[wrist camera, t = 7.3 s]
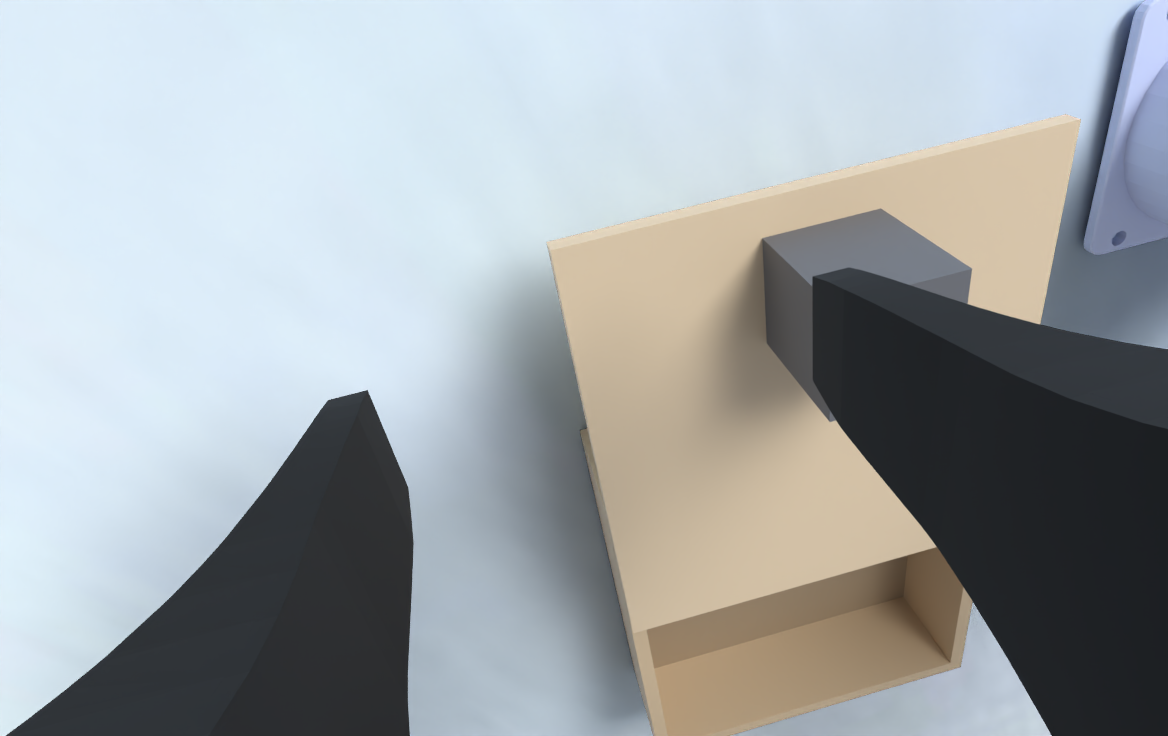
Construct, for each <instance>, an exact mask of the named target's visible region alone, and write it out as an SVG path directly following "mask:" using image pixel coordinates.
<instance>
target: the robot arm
mask: <svg viewBox="0 0 1168 736" xmlns="http://www.w3.org/2000/svg"><path fill="white" fill-rule="evenodd" d="M1167 13H1168V0H1145V1H1144V2H1142V3H1141V4H1140V6H1139V7H1138V9H1137V10H1136V12H1135V14H1134V17H1133V21H1132V25H1131V30H1130V34H1129V39H1128V43H1127V48H1126V52H1125V57H1124V61H1123V66H1122V71H1121V75H1120V80H1119V84H1118V89H1117V93H1116V98H1115V102H1114V107H1113V111H1112V116H1111V120H1110V125H1109V129H1108V134H1107V138H1106V143H1105V147H1104V152H1103V156H1102V161H1101V166H1100V170H1099V175H1098V179H1097V184H1096V188H1095V193H1094V197H1093V202H1092V206H1091V211H1090V215H1089V220H1088V224H1087V229H1086V233H1085V238H1084V248H1085V250H1087V251H1089V252H1091V253H1093V254H1095V255H1102V254H1106V253H1110V252H1114V251H1117V250H1121V249H1125V248H1129V247H1133V246H1137V245H1140V244H1144V243H1148V242H1152V241H1156V240H1160V239H1163V238H1167V237H1168V16H1167ZM1115 234H1116V235H1115ZM1114 235H1115V237H1114V238H1113V236H1114ZM812 323H813V382H814V384H815V385H816V387H817V389H818V391H819V392H820V394H821V396H822V398H823V399H824V401H825V403H826V405H827V406H828V408H829V410H830V411H831V413H832V414H833V416H834V418H835V419H836V421H837V423H838V424H839V426H840V427H841V429H842V430H843V431H844V432H845V434H846V435H847V436H848V438H849V439H850V440H851V441H852V443H853V444H854V445H855V446H856V448H857V449H858V450H859V451H860V452H861V454H862V455H863V456H864V457H865V459H866V460H867V461H868V462H869V464H870V465H871V466H872V467H873V468H874V470H875V471H876V472H877V473H878V474H879V476H880V477H881V478H882V479H883V480H884V482H885V483H886V484H887V485H888V487H889V488H890V489H891V490H892V491H893V493H894V494H895V495H896V496H897V497H898V499H899V500H900V501H901V502H902V504H903V505H904V506H905V507H906V508H907V510H908V511H909V512H910V513H911V514H912V516H913V517H914V518H915V519H916V520H917V522H918V523H919V524H920V525H921V527H922V528H923V529H924V531H925V532H926V533H927V535H928V536H929V537H930V538H931V540H932V541H933V542H934V544H935V545H936V546H937V548H938V549H939V551H940V552H941V554H942V555H943V557H944V558H945V560H946V561H947V563H948V564H949V566H950V567H951V569H952V570H953V572H954V573H955V575H956V577H957V578H958V580H959V581H960V583H961V584H962V586H963V587H964V589H965V590H966V592H967V593H968V595H969V596H970V598H971V599H972V601H973V603H974V604H975V606H976V607H977V609H978V611H979V612H980V614H981V616H982V617H983V619H984V620H985V622H986V624H987V625H988V627H989V629H990V630H991V632H992V633H993V635H994V637H995V638H996V640H997V642H998V643H999V645H1000V646H1001V648H1002V650H1003V651H1004V653H1005V655H1006V656H1007V658H1008V660H1009V661H1010V663H1011V665H1012V667H1013V668H1014V670H1015V672H1016V674H1017V675H1018V677H1019V679H1020V681H1021V682H1022V684H1023V686H1024V688H1025V689H1026V691H1027V693H1028V694H1029V696H1030V698H1031V700H1032V701H1033V703H1034V705H1035V707H1036V708H1037V710H1038V712H1039V714H1040V715H1041V717H1042V719H1043V721H1044V722H1045V724H1046V726H1047V728H1048V730H1049V731H1050V733H1051V735H1052V736H1168V349H1161V348H1154V347H1148V346H1142V345H1136V344H1130V343H1124V342H1118V341H1113V340H1108V339H1103V338H1099V337H1094V336H1089V335H1084V334H1079V333H1074V332H1069V331H1065V330H1060V329H1056V328H1052V327H1048V326H1044V325H1040V324H1036V323H1032V322H1029V321H1025V320H1021V319H1018V318H1014V317H1010V316H1006V315H1003V314H999V313H996V312H992V311H989V310H986V309H982V308H979V307H976V306H973V305H969V304H966V303H963V302H960V301H957V300H954V299H950V298H947V297H944V296H941V295H938V294H935V293H932V292H929V291H926V290H923V289H920V288H917V287H914V286H911V285H908V284H905V283H902V282H899V281H896V280H893V279H890V278H886V277H883V276H880V275H877V274H873V273H870V272H867V271H863V270H859V269H854V268H850V267H848V268H844V269H840V270H836V271H832V272H828V273H824V274H820V275H816V276H812ZM412 568H413V533H412V521H411V510H410V501H409V491H408V486H407V484H406V481H405V479H404V477H403V474H402V472H401V469H400V467H399V465H398V462H397V460H396V457H395V455H394V453H393V450H392V448H391V445H390V443H389V441H388V438H387V436H386V433H385V431H384V429H383V426H382V424H381V422H380V419H379V417H378V414H377V412H376V410H375V407H374V405H373V402H372V400H371V398H370V395H369V393H368V390H366V391H363V392H359V393H355V394H351V395H347V396H343V397H339V398H335V399H331V400H328V401H327V403H326V404H325V405H324V406H323V408H322V409H321V410H320V412H319V413H318V415H317V416H316V418H315V419H314V420H313V422H312V423H311V425H310V426H309V428H308V429H307V431H306V432H305V434H304V435H303V436H302V438H301V439H300V441H299V442H298V444H297V445H296V447H295V448H294V450H293V451H292V452H291V454H290V455H289V457H288V458H287V459H286V461H285V462H284V464H283V465H282V466H281V468H280V469H279V471H278V472H277V473H276V475H275V476H274V478H273V479H272V480H271V482H270V483H269V484H268V486H267V487H266V488H265V490H264V491H263V492H262V493H261V495H260V496H259V497H258V499H257V500H256V501H255V502H254V504H253V505H252V506H251V507H250V509H249V510H248V511H247V512H246V514H245V515H244V516H243V517H242V519H241V520H240V521H239V522H238V524H237V525H236V526H235V527H234V529H233V530H232V531H231V532H230V534H229V535H228V536H227V537H226V538H225V540H224V541H223V542H222V543H221V544H220V545H219V547H218V548H217V549H216V550H215V551H214V552H213V553H212V554H211V556H210V557H209V558H208V559H207V560H206V561H205V562H204V563H203V564H202V565H201V566H200V568H199V569H198V570H197V571H196V572H195V573H194V574H193V575H192V576H191V577H190V578H189V579H188V580H187V581H186V582H185V583H184V584H183V585H182V586H181V587H180V588H179V589H178V590H177V591H176V592H175V593H174V594H173V595H172V596H171V597H170V598H169V599H168V600H167V601H166V602H165V603H164V604H163V605H162V606H161V607H160V608H159V609H158V610H157V611H156V612H154V613H153V614H152V615H151V616H150V617H149V618H148V619H147V620H146V621H145V622H144V623H142V624H141V625H140V626H139V627H138V628H137V629H136V630H135V631H134V632H133V633H131V634H130V635H129V636H128V637H127V638H126V639H125V640H124V641H123V642H122V643H121V644H119V645H118V646H117V647H116V648H115V649H114V650H113V651H112V652H111V653H110V654H108V655H107V656H106V657H105V658H104V659H103V660H101V661H100V662H99V663H98V664H97V665H95V666H94V667H93V668H92V669H91V670H89V671H88V672H87V673H86V674H85V675H83V676H82V677H81V678H80V679H78V680H77V681H76V682H75V683H74V684H72V685H71V686H70V687H69V688H67V689H66V690H65V691H64V692H62V693H61V694H60V695H59V696H57V697H56V698H55V699H53V700H52V701H51V702H50V703H48V704H47V705H46V706H44V707H43V708H42V709H41V710H39V711H38V712H37V713H35V714H34V715H33V716H32V717H30V718H29V719H28V720H26V721H25V722H24V723H22V724H21V725H20V726H18V727H17V728H16V729H14V730H13V731H12V732H10V733H9V734H8V735H6V736H410V732H409V716H408V654H409V633H410V612H411V592H412Z"/></svg>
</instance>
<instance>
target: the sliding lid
mask: <svg viewBox="0 0 1168 736" xmlns="http://www.w3.org/2000/svg"><path fill="white" fill-rule="evenodd" d="M1080 122H1081V119H1078V118H1075V117H1072V116H1069V115H1066V114H1065V115H1061V116H1057V117H1053V118H1049V119H1045V120H1041V121H1037V122H1032V123H1028V124H1024V125H1020V126H1016V127H1012V128H1008V129H1004V130H1000V131H996V132H992V133H988V134H984V135H980V136H976V137H971V138H967V139H963V140H959V141H955V142H951V143H947V144H943V145H939V146H935V147H931V148H927V149H923V150H919V151H915V152H910V153H906V154H902V155H898V156H894V157H890V158H886V159H882V160H878V161H874V162H870V163H866V164H862V165H858V166H854V167H849V168H845V169H841V170H837V171H833V172H829V173H825V174H821V175H817V176H813V177H809V178H805V179H801V180H797V181H793V182H788V183H784V184H780V185H776V186H772V187H768V188H764V189H760V190H756V191H752V192H748V193H744V194H740V195H736V196H732V197H727V198H723V199H719V200H715V201H711V202H707V203H703V204H699V205H695V206H691V207H687V208H683V209H679V210H675V211H671V212H666V213H662V214H658V215H654V216H650V217H646V218H642V219H638V220H634V221H630V222H626V223H622V224H618V225H614V226H610V227H605V228H601V229H597V230H593V231H589V232H585V233H581V234H577V235H573V236H569V237H565V238H561V239H557V240H553V241H549V242H547V247H548V251H549V256H550V260H551V265H552V270H553V274H554V279H555V283H556V288H557V292H558V297H559V301H560V306H561V310H562V315H563V320H564V324H565V329H566V333H567V338H568V342H569V347H570V351H571V356H572V361H573V365H574V370H575V374H576V379H577V383H578V388H579V392H580V397H581V401H582V406H583V411H584V415H585V420H586V424H587V429H588V433H589V438H590V442H591V447H592V452H593V456H594V461H595V465H596V470H597V474H598V479H599V483H600V488H601V492H602V497H603V502H604V506H605V511H606V515H607V520H608V524H609V529H610V533H611V538H612V543H613V547H614V552H615V556H616V561H617V565H618V570H619V574H620V579H621V583H622V588H623V593H624V597H625V602H626V606H627V611H628V615H629V620H630V624H631V627H632V630H633V633H637V632H640V631H644V630H647V629H651V628H654V627H658V626H661V625H665V624H668V623H672V622H675V621H679V620H682V619H686V618H689V617H693V616H696V615H700V614H703V613H707V612H710V611H714V610H717V609H721V608H724V607H728V606H731V605H735V604H738V603H742V602H745V601H749V600H752V599H756V598H760V597H763V596H767V595H770V594H774V593H777V592H781V591H784V590H788V589H791V588H795V587H798V586H802V585H805V584H809V583H812V582H816V581H819V580H823V579H826V578H830V577H833V576H837V575H840V574H844V573H847V572H851V571H854V570H858V569H861V568H865V567H868V566H872V565H875V564H879V563H882V562H886V561H889V560H893V559H896V558H900V557H903V556H907V555H910V554H914V553H917V552H921V551H924V550H928V549H931V548H935V547H937V546H936V545H935V544H934V542H933V541H932V540H931V538H930V537H929V536H928V535H927V533H926V532H925V531H924V529H923V528H922V527H921V525H920V524H919V523H918V522H917V520H916V519H915V518H914V517H913V516H912V514H911V513H910V512H909V511H908V510H907V508H906V507H905V506H904V505H903V504H902V502H901V501H900V500H899V499H898V497H897V496H896V495H895V494H894V493H893V491H892V490H891V489H890V488H889V487H888V485H887V484H886V483H885V482H884V480H883V479H882V478H881V477H880V476H879V474H878V473H877V472H876V471H875V470H874V468H873V467H872V466H871V465H870V464H869V462H868V461H867V460H866V459H865V457H864V456H863V455H862V454H861V452H860V451H859V450H858V449H857V448H856V446H855V445H854V444H853V443H852V441H851V440H850V439H849V438H848V436H847V435H846V434H845V432H844V431H843V430H842V429H841V427H840V426H839V424H838V423H837V421H836V419H835V418H834V416H833V414H832V413H831V411H830V410H829V408H828V406H827V405H826V403H825V401H824V399H823V398H822V396H821V394H820V392H819V391H818V389H817V387H816V385H815V384H814V382H813V323H812V276H816V275H820V274H824V273H828V272H832V271H836V270H840V269H844V268H848V267H850V268H854V269H859V270H863V271H867V272H870V273H873V274H877V275H880V276H883V277H886V278H890V279H893V280H896V281H899V282H902V283H905V284H908V285H911V286H914V287H917V288H920V289H923V290H926V291H929V292H932V293H935V294H938V295H941V296H944V297H947V298H950V299H954V300H957V301H960V302H963V303H966V304H969V305H973V306H976V307H979V308H982V309H986V310H989V311H992V312H996V313H999V314H1003V315H1006V316H1010V317H1014V318H1018V319H1021V320H1025V321H1029V322H1032V323H1036V324H1040V323H1041V318H1042V313H1043V308H1044V303H1045V298H1046V293H1047V288H1048V283H1049V278H1050V273H1051V267H1052V262H1053V257H1054V252H1055V247H1056V242H1057V237H1058V232H1059V227H1060V222H1061V217H1062V212H1063V207H1064V202H1065V197H1066V192H1067V187H1068V182H1069V177H1070V172H1071V167H1072V162H1073V157H1074V152H1075V147H1076V142H1077V137H1078V132H1079V127H1080Z"/></svg>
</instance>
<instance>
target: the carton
mask: <svg viewBox="0 0 1168 736" xmlns="http://www.w3.org/2000/svg"><path fill="white" fill-rule="evenodd" d="M580 434H581V438H582V443H583V447H584V451H585V456H586V460H587V464H588V469H589V473H590V478H591V482H592V486H593V491H594V495H595V500H596V504H597V508H598V513H599V517H600V522H601V526H602V530H603V535H604V539H605V544H606V548H607V552H608V557H609V561H610V566H611V570H612V574H613V579H614V583H615V587H616V592H617V596H618V601H619V605H620V609H621V614H622V618H623V623H624V627H625V631H626V636H627V640H628V645H629V649H630V653H631V658H632V662H633V667H634V671H635V674H636V678H637V681H638V685H639V688H640V692H641V695H642V698H643V702H644V705H645V709H646V712H647V716H648V719H649V723H650V726H651V729H652V733H653V736H730V735H734V734H737V733H740V732H744V731H747V730H750V729H754V728H757V727H760V726H764V725H767V724H771V723H774V722H777V721H781V720H784V719H787V718H791V717H794V716H797V715H801V714H804V713H807V712H811V711H814V710H818V709H821V708H824V707H828V706H831V705H834V704H838V703H841V702H844V701H848V700H851V699H855V698H858V697H861V696H865V695H868V694H871V693H875V692H878V691H881V690H885V689H888V688H892V687H895V686H898V685H902V684H905V683H908V682H912V681H915V680H918V679H922V678H925V677H928V676H932V675H935V674H939V673H942V672H945V671H949V670H952V669H955V668H959V667H961V662H962V656H963V651H964V645H965V640H966V634H967V629H968V624H969V618H970V613H971V607H972V602H973V601H972V599H971V598H970V596H969V595H968V593H967V592H966V590H965V589H964V587H963V586H962V584H961V583H960V581H959V580H958V578H957V577H956V575H955V573H954V572H953V570H952V569H951V567H950V566H949V564H948V563H947V561H946V560H945V558H944V557H943V555H942V554H941V552H940V551H939V549H938V548H937V547H935V548H931V549H928V550H924V551H921V552H917V553H914V554H910V555H907V556H903V557H900V558H896V559H893V560H889V561H886V562H882V563H879V564H875V565H872V566H868V567H865V568H861V569H858V570H854V571H851V572H847V573H844V574H840V575H837V576H833V577H830V578H826V579H823V580H819V581H816V582H812V583H809V584H805V585H802V586H798V587H795V588H791V589H788V590H784V591H781V592H777V593H774V594H770V595H767V596H763V597H760V598H756V599H752V600H749V601H745V602H742V603H738V604H735V605H731V606H728V607H724V608H721V609H717V610H714V611H710V612H707V613H703V614H700V615H696V616H693V617H689V618H686V619H682V620H679V621H675V622H672V623H668V624H665V625H661V626H658V627H654V628H651V629H647V630H644V631H640V632H637V633H633V630H632V627H631V624H630V620H629V615H628V611H627V606H626V602H625V597H624V593H623V588H622V583H621V579H620V574H619V570H618V565H617V561H616V556H615V552H614V547H613V543H612V538H611V533H610V529H609V524H608V520H607V515H606V511H605V506H604V502H603V497H602V492H601V488H600V483H599V479H598V474H597V470H596V465H595V461H594V456H593V452H592V447H591V442H590V438H589V433H588V429H587V428H586V429H583V430H580Z"/></svg>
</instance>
